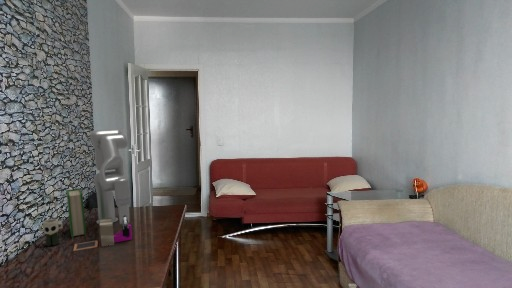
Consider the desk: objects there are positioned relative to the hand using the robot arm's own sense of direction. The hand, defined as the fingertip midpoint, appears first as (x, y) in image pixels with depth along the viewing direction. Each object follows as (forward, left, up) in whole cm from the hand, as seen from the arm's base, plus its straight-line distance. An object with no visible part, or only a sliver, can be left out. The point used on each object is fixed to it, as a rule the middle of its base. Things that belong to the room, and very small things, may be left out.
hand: (125, 233), depth 193 cm
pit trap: (0, -20, -3) cm, 20 cm away
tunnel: (0, -9, -3) cm, 10 cm away
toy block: (0, -5, -3) cm, 6 cm away
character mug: (-12, -36, -3) cm, 38 cm away
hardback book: (-28, -25, -3) cm, 38 cm away
